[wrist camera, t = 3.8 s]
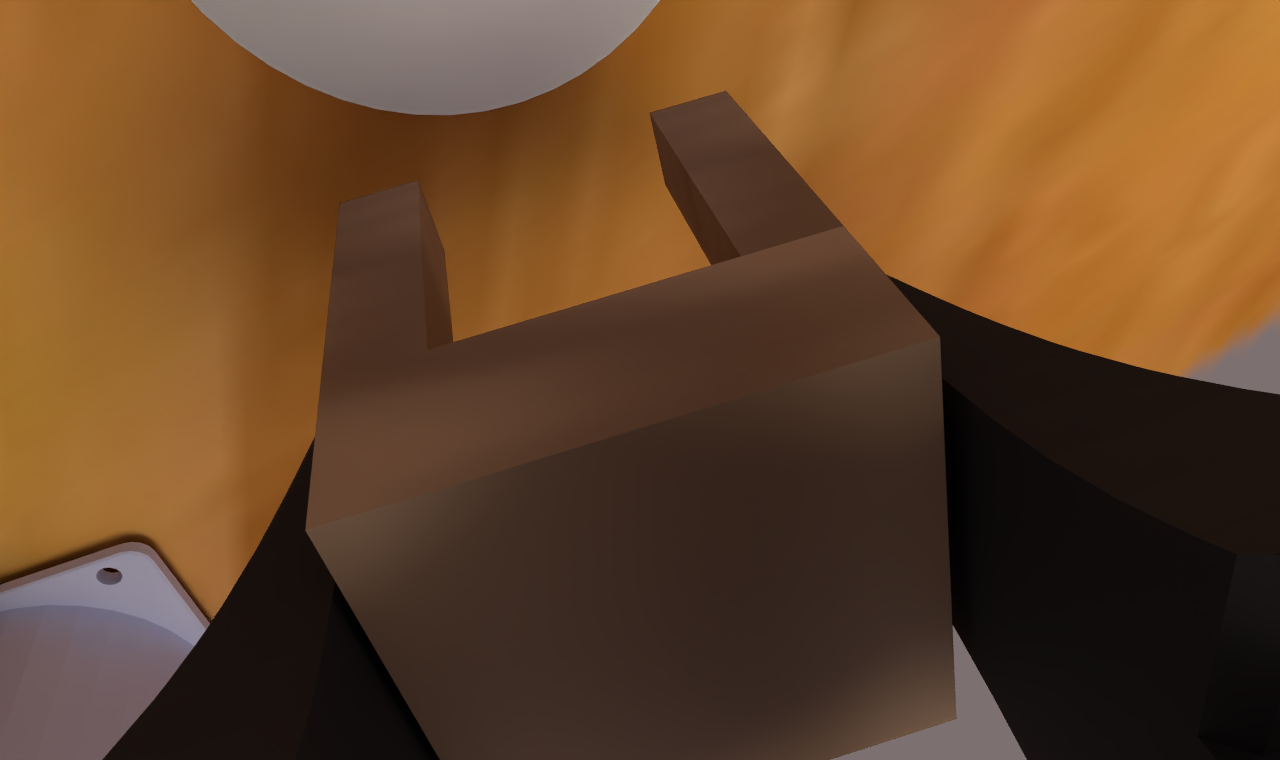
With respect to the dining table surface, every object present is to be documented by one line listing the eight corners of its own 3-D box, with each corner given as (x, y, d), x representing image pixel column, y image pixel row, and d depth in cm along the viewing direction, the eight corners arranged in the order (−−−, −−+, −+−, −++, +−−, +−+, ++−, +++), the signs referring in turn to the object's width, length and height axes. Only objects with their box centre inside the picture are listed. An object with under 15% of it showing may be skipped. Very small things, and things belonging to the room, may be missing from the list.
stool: (466, 493, 15) (502, 866, 10) (339, 203, 12) (304, 529, 7) (777, 398, 15) (956, 718, 11) (726, 90, 12) (939, 336, 8)
